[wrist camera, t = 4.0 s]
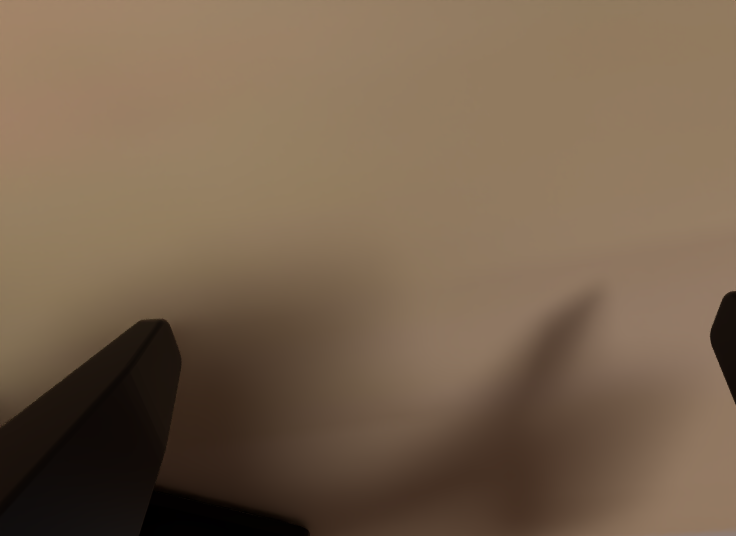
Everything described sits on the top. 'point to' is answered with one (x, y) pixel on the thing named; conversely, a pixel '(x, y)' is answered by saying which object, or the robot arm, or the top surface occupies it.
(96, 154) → the top surface
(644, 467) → the top surface
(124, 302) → the top surface
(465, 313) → the top surface
